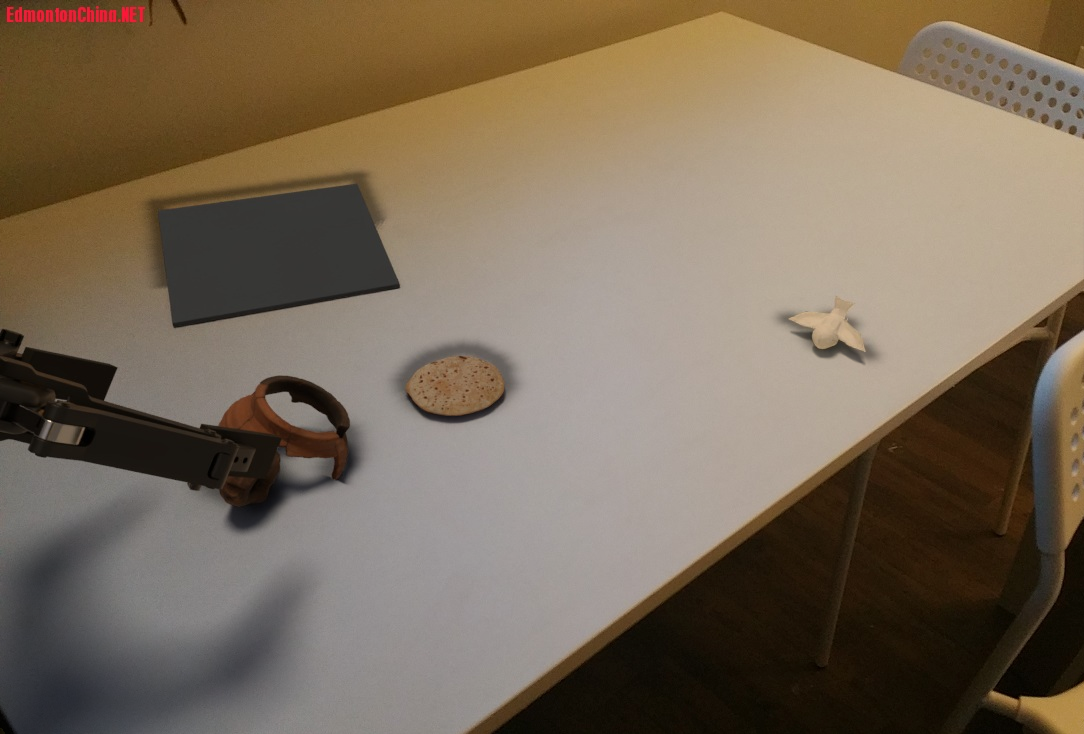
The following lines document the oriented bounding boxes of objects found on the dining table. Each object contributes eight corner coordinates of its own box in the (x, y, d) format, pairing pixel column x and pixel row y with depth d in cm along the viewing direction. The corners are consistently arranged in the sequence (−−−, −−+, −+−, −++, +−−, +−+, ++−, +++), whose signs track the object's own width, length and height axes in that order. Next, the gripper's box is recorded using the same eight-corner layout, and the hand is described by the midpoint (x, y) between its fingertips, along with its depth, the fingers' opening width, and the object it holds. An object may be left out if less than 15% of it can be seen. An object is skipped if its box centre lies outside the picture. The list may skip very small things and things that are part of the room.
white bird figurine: (776, 335, 92) (792, 288, 90) (794, 327, 96) (810, 282, 94) (854, 369, 89) (872, 321, 87) (869, 359, 93) (887, 314, 91)
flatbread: (492, 355, 87) (492, 346, 87) (513, 410, 82) (513, 401, 81) (399, 370, 85) (398, 361, 84) (414, 428, 80) (413, 419, 79)
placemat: (158, 214, 101) (157, 210, 100) (357, 187, 108) (357, 183, 108) (173, 327, 87) (172, 323, 87) (400, 287, 94) (399, 283, 94)
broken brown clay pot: (225, 431, 78) (265, 350, 76) (334, 484, 81) (377, 407, 78) (157, 514, 68) (201, 423, 65) (286, 573, 70) (334, 488, 67)
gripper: (-368, 357, 46) (21, 409, 66) (17, 558, 39) (320, 547, 59) (-302, 209, 47) (64, 305, 67) (90, 382, 40) (366, 431, 60)
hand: (185, 419), depth 63 cm, fingers open, 13 cm apart
